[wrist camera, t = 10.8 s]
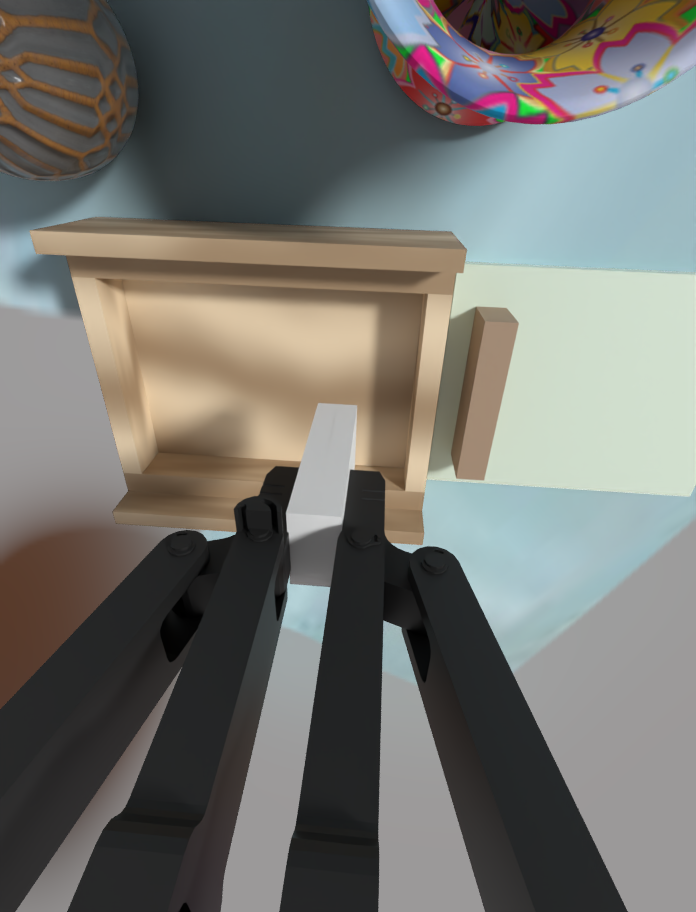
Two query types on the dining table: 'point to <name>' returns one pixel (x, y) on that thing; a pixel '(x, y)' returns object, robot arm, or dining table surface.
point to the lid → (569, 379)
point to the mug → (532, 55)
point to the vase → (63, 88)
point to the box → (259, 354)
